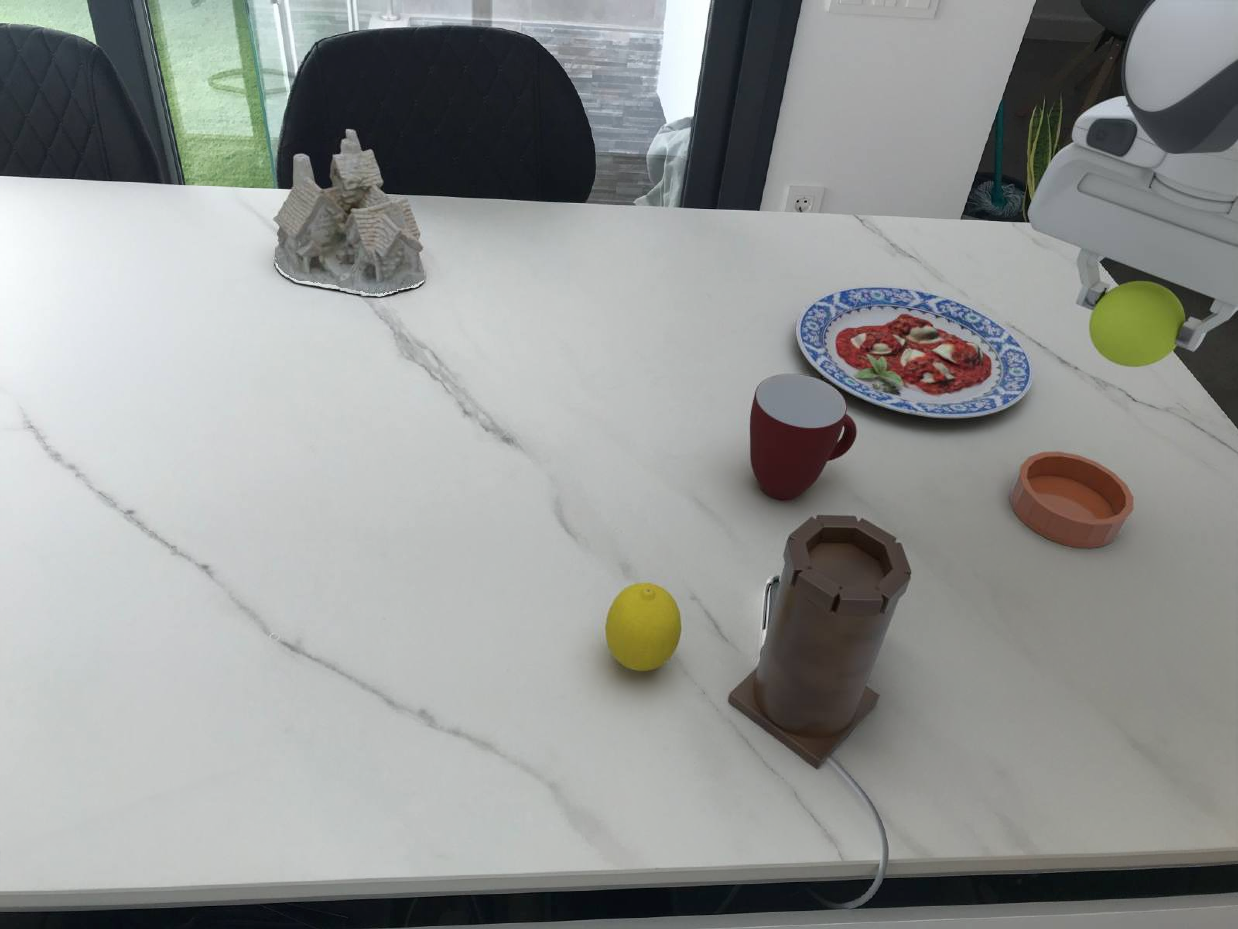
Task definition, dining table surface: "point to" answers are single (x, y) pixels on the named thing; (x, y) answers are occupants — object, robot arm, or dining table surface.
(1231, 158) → the robot arm
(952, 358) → the ceramic plate
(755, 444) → the mug
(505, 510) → the dining table surface
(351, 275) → the ceramic cottage
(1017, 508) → the terracotta dish
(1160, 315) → the tennis ball
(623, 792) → the dining table surface
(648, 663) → the lemon
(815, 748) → the brown toy castle tower
